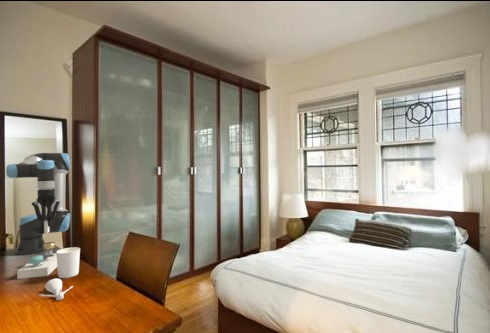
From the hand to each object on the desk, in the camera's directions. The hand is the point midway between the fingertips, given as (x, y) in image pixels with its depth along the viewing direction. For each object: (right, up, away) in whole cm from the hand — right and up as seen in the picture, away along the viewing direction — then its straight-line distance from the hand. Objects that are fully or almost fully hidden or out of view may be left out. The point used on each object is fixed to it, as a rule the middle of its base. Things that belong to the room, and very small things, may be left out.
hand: (46, 232), depth 147 cm
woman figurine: (+29, -17, -35) cm, 49 cm away
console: (+2, -17, -5) cm, 18 cm away
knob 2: (0, -13, +2) cm, 14 cm away
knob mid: (+2, -16, -5) cm, 17 cm away
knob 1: (+4, -16, -13) cm, 21 cm away
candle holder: (+21, -17, -15) cm, 31 cm away
